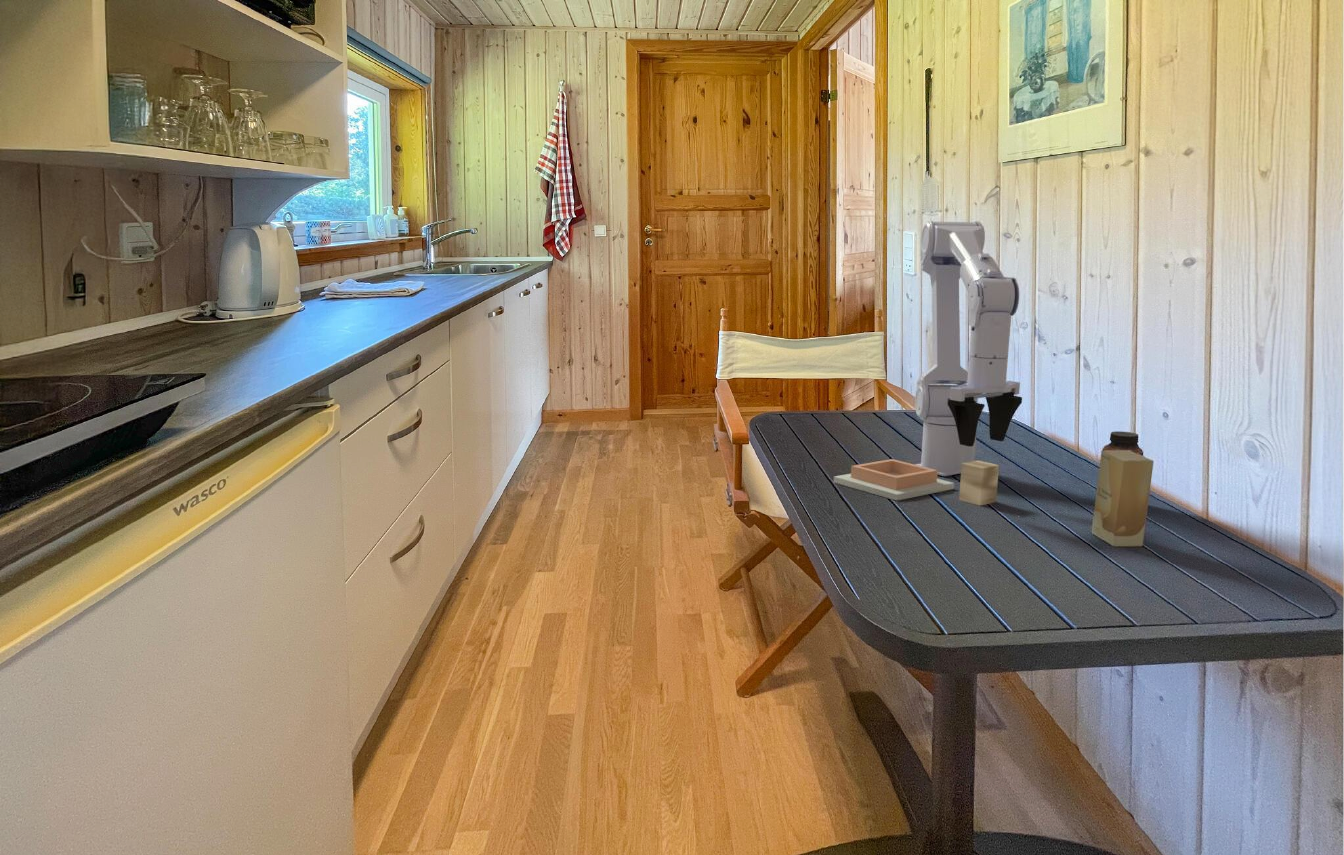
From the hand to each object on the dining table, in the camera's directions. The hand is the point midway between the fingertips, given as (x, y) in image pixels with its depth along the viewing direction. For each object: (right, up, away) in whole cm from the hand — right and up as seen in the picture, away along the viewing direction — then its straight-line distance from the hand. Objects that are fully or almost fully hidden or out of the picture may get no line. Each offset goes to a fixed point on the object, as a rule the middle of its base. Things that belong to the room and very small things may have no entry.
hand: (981, 442), depth 151 cm
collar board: (-11, -7, +11) cm, 17 cm away
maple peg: (0, -9, +2) cm, 10 cm away
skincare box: (+13, -13, -18) cm, 26 cm away
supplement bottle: (+22, -10, +2) cm, 24 cm away
